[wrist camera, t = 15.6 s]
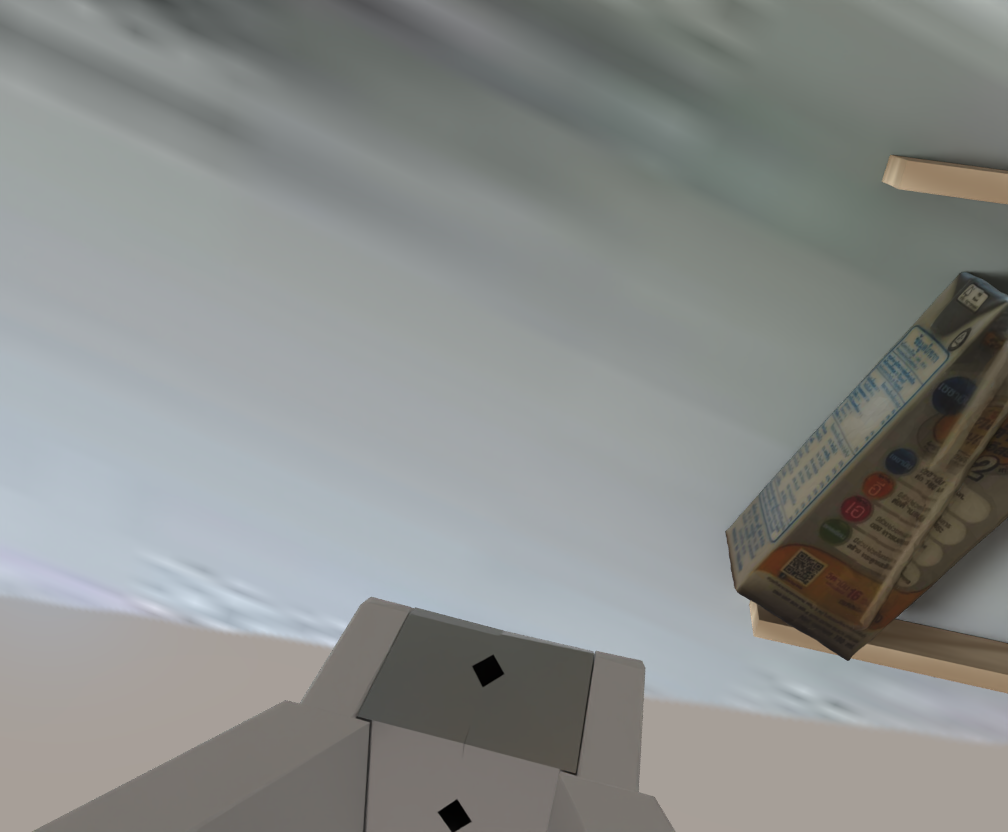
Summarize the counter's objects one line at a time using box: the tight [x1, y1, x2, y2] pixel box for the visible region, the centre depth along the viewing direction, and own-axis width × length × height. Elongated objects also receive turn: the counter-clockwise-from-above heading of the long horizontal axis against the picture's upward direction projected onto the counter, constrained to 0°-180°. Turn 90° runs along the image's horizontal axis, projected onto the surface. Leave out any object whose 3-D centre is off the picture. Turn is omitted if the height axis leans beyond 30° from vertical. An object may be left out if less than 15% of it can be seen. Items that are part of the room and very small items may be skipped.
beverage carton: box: [726, 272, 1008, 661], centre depth 38 cm, size 8×19×7 cm, turn 150°
